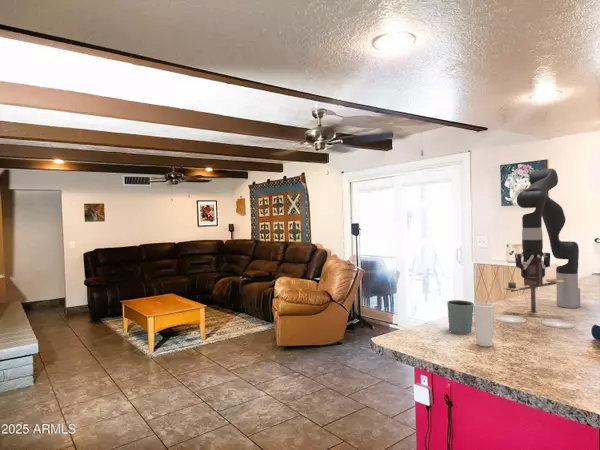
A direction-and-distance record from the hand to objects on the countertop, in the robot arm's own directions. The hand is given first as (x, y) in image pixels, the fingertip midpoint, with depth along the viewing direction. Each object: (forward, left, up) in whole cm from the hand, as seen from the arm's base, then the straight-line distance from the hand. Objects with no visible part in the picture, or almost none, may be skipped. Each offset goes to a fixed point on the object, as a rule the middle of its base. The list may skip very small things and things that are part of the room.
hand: (533, 277), depth 168 cm
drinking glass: (+31, +21, -21) cm, 43 cm away
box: (0, 0, -4) cm, 4 cm away
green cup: (+32, +3, -21) cm, 39 cm away
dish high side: (-12, -2, -21) cm, 24 cm away
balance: (-11, -19, -21) cm, 30 cm away
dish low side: (+4, -11, -21) cm, 24 cm away
